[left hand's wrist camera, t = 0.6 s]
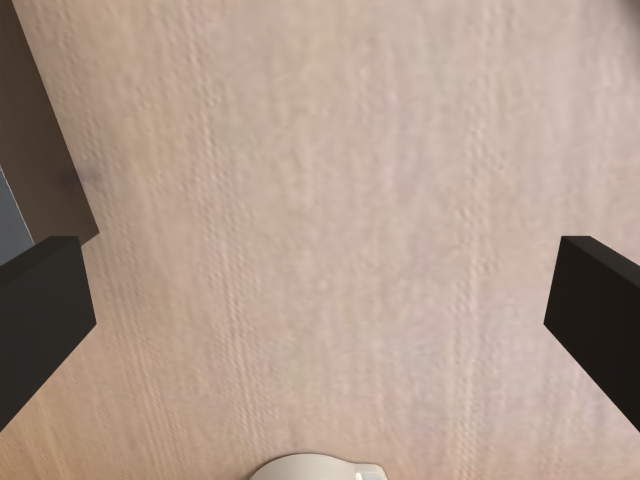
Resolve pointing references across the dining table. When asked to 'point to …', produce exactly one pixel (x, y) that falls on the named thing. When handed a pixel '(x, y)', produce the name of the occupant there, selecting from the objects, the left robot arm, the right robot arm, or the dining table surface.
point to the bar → (33, 155)
